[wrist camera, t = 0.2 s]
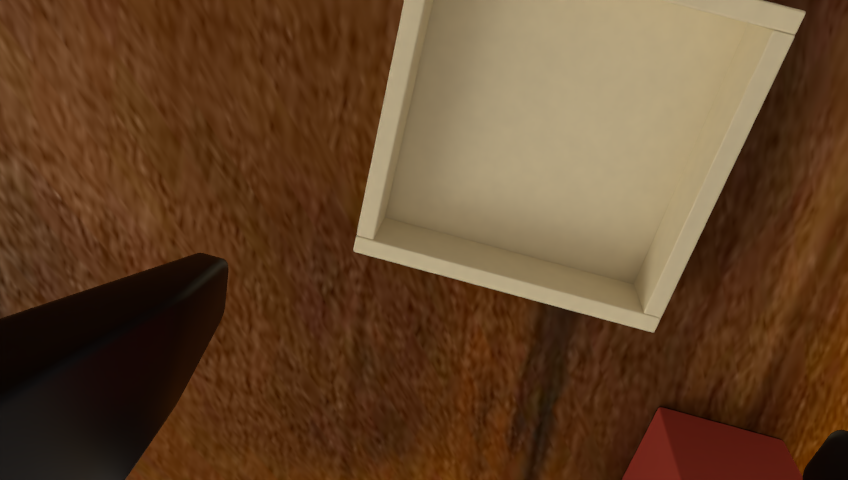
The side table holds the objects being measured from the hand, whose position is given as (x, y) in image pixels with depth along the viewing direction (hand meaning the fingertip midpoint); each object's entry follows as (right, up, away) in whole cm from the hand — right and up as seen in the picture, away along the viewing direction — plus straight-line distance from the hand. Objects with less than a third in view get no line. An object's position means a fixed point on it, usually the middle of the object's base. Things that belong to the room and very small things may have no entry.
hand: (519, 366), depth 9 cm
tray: (+3, +6, +12) cm, 13 cm away
